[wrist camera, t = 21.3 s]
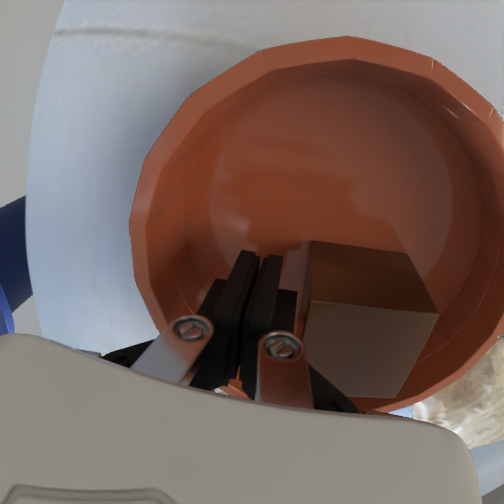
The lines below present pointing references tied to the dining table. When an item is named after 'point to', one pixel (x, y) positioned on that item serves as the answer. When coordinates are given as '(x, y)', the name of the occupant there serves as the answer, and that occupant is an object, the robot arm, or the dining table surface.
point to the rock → (471, 402)
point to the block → (364, 317)
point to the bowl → (332, 189)
